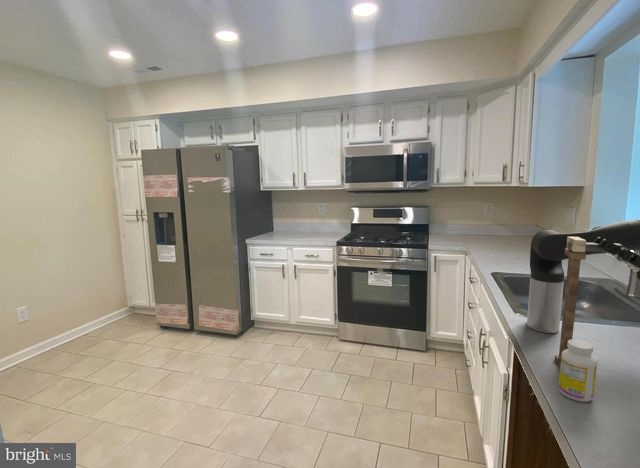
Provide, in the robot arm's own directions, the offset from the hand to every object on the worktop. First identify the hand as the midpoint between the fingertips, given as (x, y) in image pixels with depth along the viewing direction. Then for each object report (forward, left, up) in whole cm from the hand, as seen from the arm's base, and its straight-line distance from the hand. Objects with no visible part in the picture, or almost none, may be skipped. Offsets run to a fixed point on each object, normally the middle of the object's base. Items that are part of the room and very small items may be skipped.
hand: (598, 241), depth 84 cm
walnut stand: (0, -5, -35) cm, 35 cm away
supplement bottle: (+13, -6, -35) cm, 38 cm away
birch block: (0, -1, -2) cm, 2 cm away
